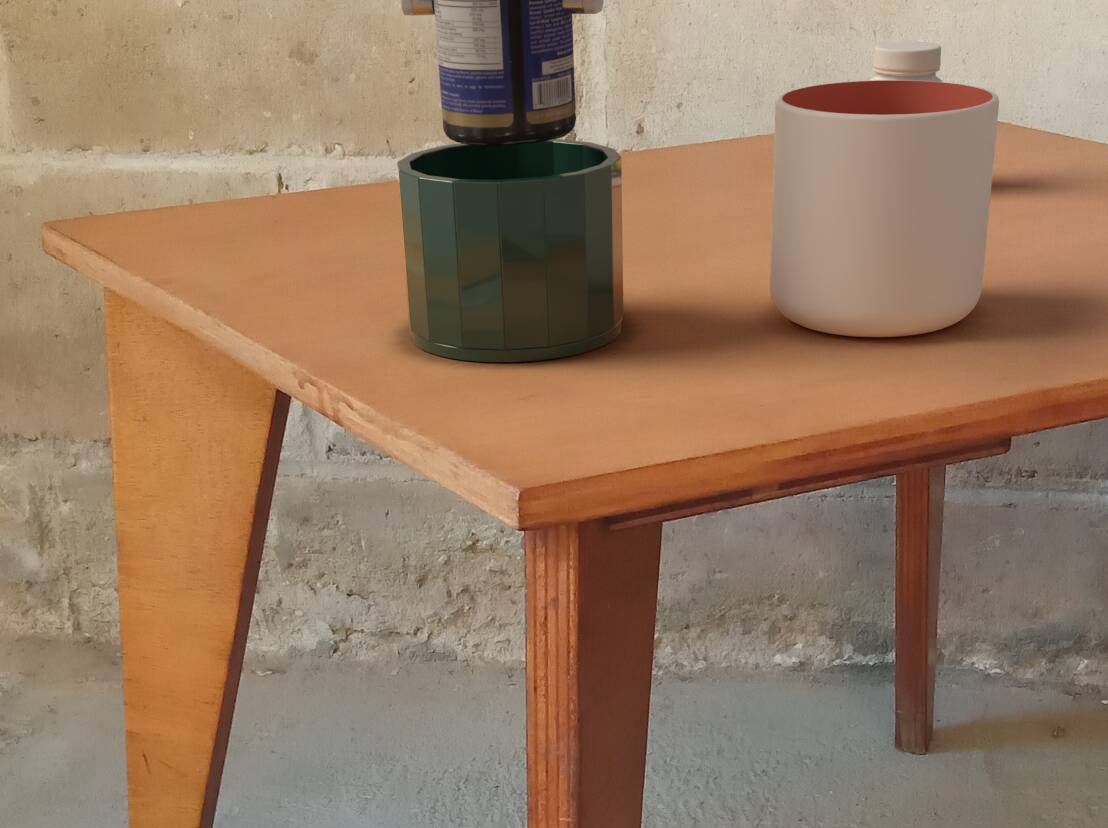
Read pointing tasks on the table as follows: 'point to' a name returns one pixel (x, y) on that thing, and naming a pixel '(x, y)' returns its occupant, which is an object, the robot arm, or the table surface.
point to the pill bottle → (505, 70)
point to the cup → (881, 204)
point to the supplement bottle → (907, 61)
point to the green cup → (512, 249)
